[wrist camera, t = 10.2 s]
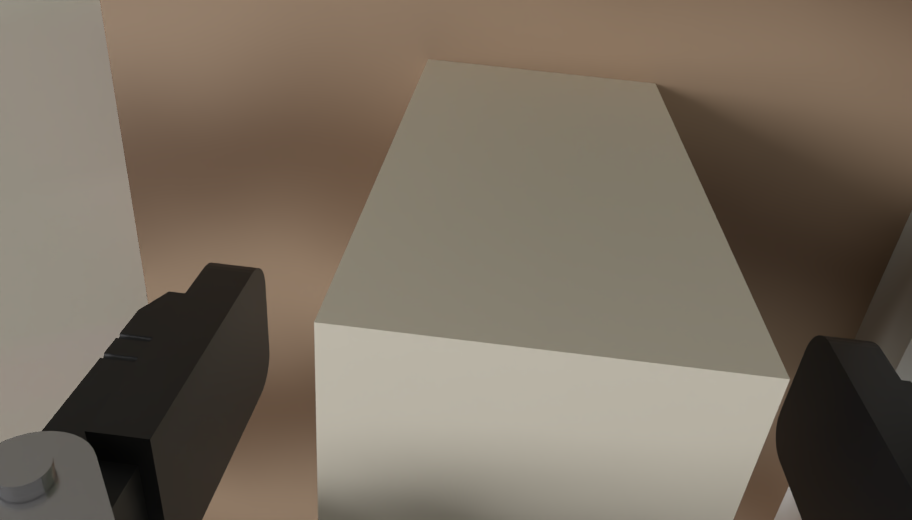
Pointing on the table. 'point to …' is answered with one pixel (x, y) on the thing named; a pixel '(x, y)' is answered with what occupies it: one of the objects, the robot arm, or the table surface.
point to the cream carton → (539, 317)
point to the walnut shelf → (531, 48)
